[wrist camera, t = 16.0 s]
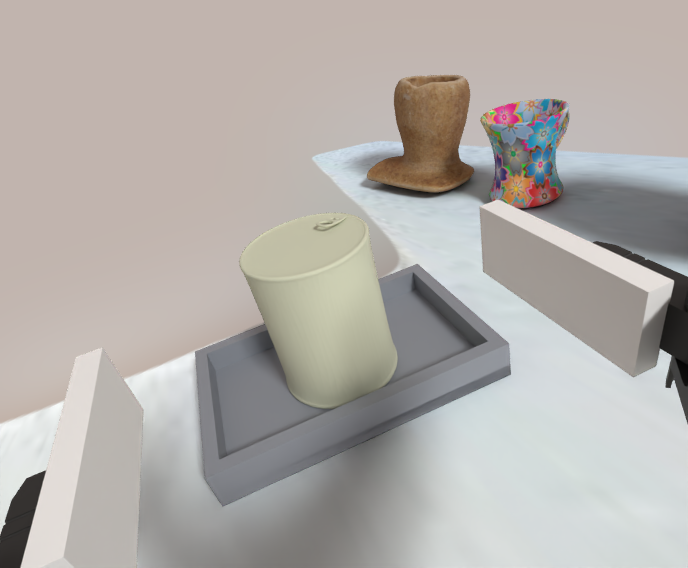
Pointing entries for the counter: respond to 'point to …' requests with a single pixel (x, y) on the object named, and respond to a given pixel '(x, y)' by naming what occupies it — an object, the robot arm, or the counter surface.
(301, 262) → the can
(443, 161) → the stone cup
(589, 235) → the counter surface
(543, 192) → the mug
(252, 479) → the tray
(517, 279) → the robot arm
